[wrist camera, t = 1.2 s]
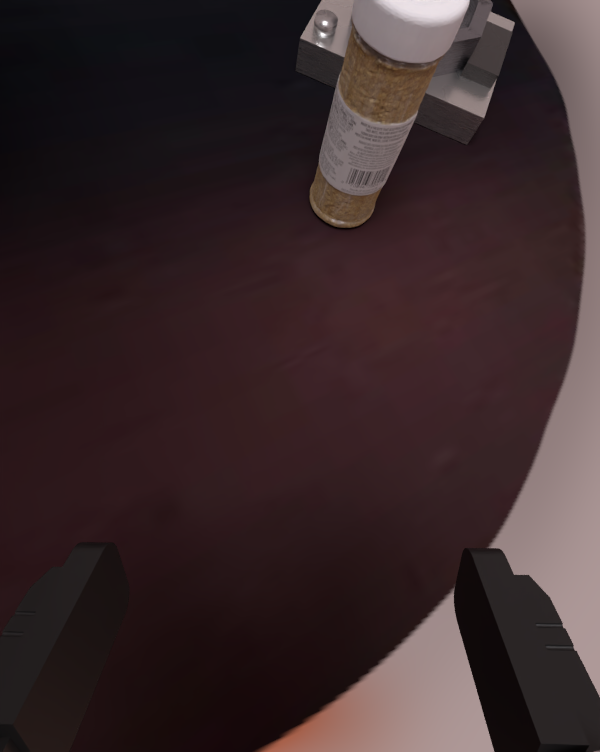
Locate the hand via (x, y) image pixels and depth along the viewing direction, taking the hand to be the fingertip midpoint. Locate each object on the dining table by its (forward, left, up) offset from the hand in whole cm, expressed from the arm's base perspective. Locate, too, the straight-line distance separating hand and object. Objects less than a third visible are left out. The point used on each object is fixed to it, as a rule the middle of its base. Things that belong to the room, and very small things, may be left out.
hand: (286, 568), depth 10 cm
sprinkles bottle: (-3, +22, -14) cm, 26 cm away
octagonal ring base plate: (-3, +37, -13) cm, 39 cm away
